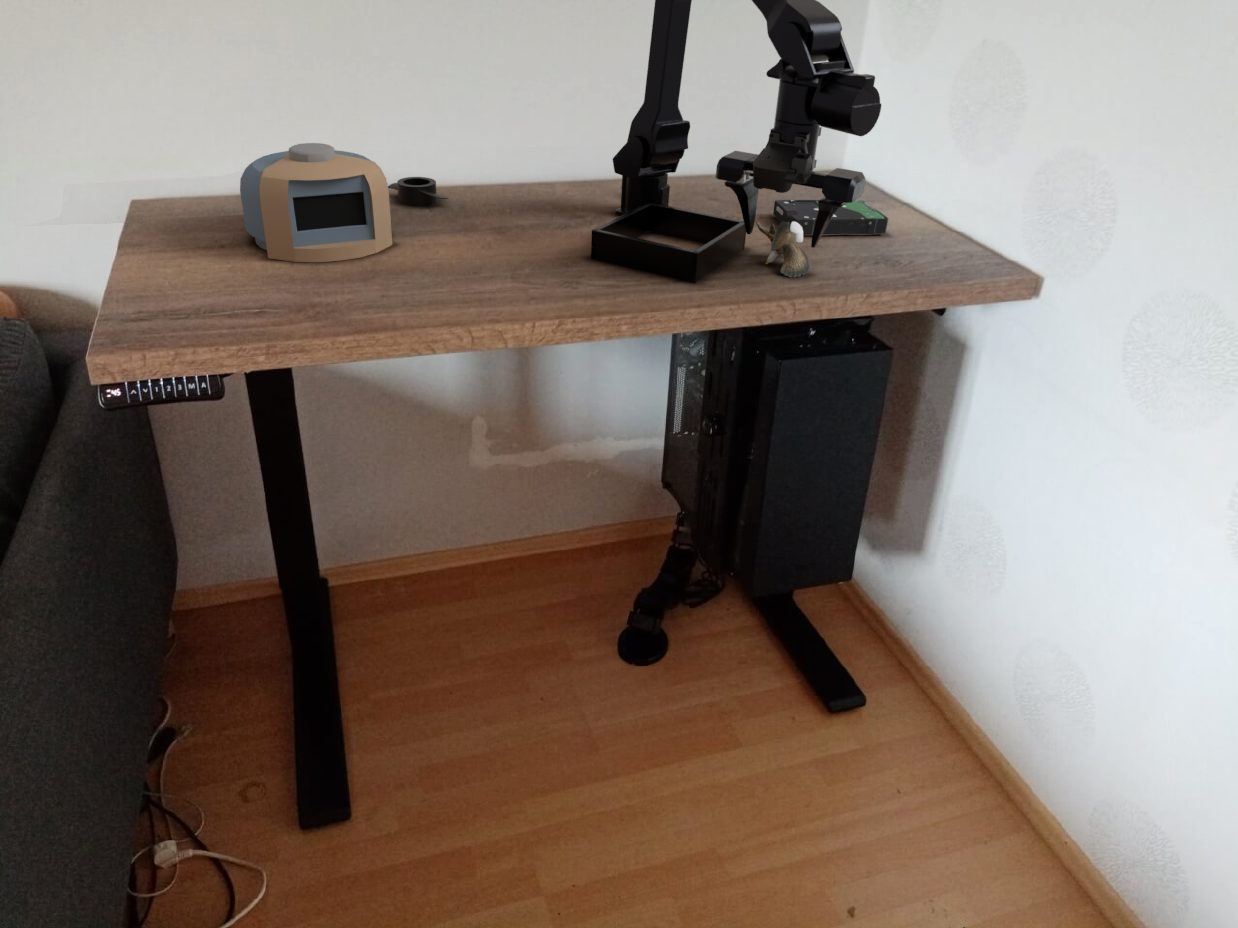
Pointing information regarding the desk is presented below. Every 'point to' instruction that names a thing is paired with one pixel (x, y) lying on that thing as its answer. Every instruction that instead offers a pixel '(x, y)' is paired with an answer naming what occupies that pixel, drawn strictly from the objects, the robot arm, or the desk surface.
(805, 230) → the disk drive
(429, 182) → the duct tape
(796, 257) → the eagle figurine
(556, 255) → the desk surface
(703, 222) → the desk tidy
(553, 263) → the desk surface
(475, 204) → the desk surface
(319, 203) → the alarm clock
